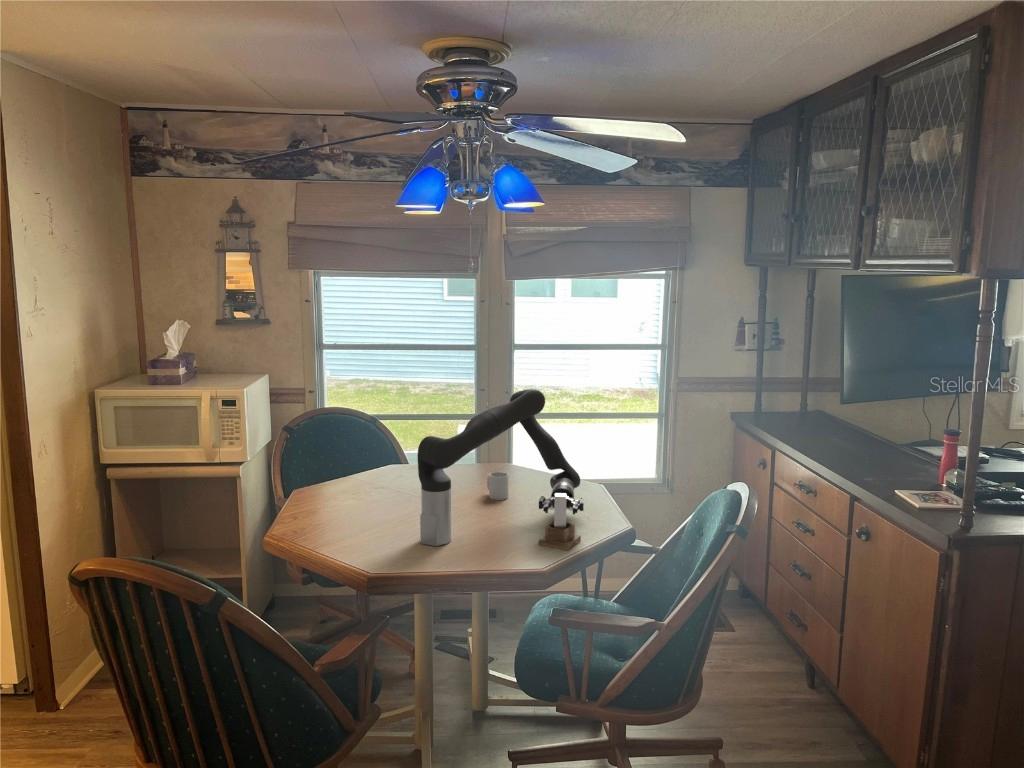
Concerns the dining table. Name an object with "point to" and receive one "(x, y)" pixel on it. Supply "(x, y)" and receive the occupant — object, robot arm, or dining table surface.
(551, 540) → the wooden socket base
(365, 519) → the dining table surface
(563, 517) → the grey rectangular block
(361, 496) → the dining table surface
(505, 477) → the cup
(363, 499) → the dining table surface
